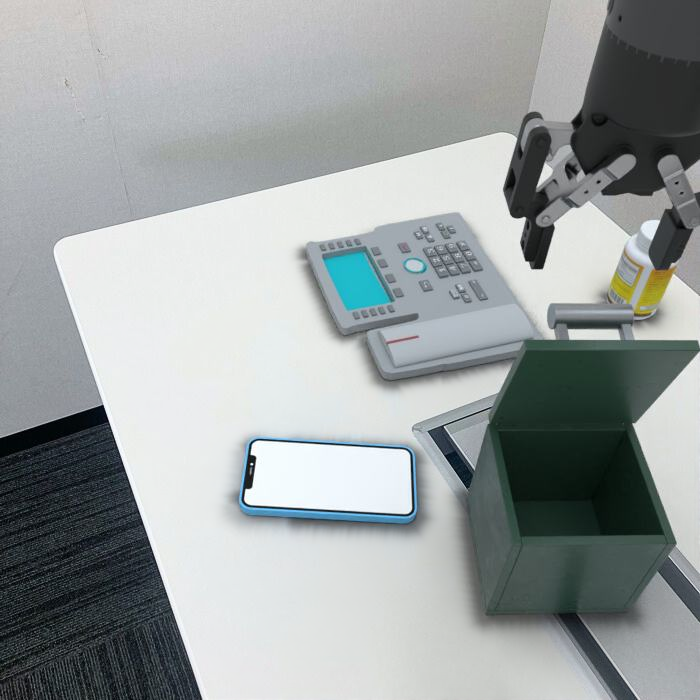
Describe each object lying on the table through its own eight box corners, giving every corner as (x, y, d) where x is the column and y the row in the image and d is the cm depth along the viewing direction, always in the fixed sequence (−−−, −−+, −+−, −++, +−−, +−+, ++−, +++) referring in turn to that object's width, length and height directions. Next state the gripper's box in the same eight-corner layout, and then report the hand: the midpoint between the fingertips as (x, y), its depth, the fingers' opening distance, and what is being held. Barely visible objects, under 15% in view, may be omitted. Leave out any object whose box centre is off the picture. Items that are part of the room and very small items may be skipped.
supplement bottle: (660, 299, 85) (694, 226, 77) (648, 329, 81) (682, 255, 74) (612, 282, 87) (640, 208, 79) (598, 310, 83) (626, 236, 76)
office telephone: (552, 335, 77) (366, 375, 72) (546, 352, 79) (364, 392, 74) (460, 202, 91) (301, 228, 87) (456, 219, 93) (301, 246, 88)
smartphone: (417, 519, 63) (237, 508, 63) (415, 526, 64) (238, 516, 63) (414, 446, 68) (248, 436, 68) (412, 454, 69) (248, 444, 69)
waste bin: (628, 612, 59) (677, 543, 51) (485, 614, 58) (512, 545, 51) (594, 498, 66) (632, 422, 58) (466, 499, 66) (487, 423, 58)
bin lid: (701, 350, 48) (682, 286, 51) (526, 350, 48) (515, 285, 50) (635, 423, 58) (622, 366, 60) (489, 424, 57) (481, 366, 60)
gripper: (562, 52, 37) (501, 299, 48) (845, 58, 37) (718, 300, 49) (531, -9, 42) (483, 228, 54) (780, -2, 43) (679, 229, 54)
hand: (595, 262), depth 51 cm, fingers open, 8 cm apart
